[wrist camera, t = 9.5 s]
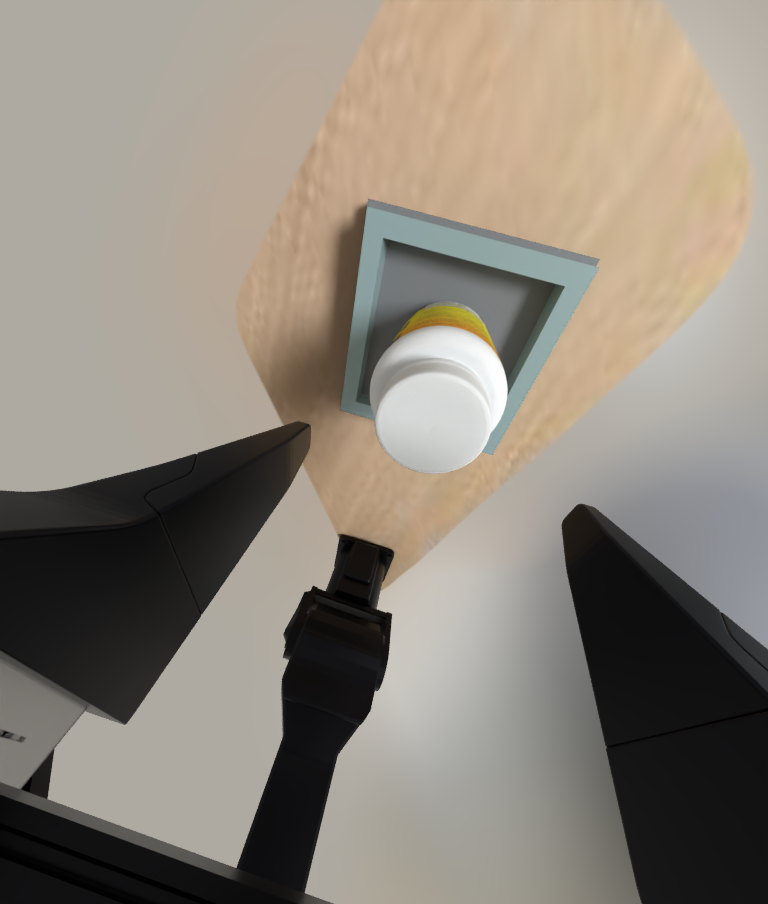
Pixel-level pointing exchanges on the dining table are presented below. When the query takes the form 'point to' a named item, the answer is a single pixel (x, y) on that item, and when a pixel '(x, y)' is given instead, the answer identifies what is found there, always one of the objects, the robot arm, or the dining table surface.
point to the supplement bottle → (438, 390)
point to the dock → (460, 295)
